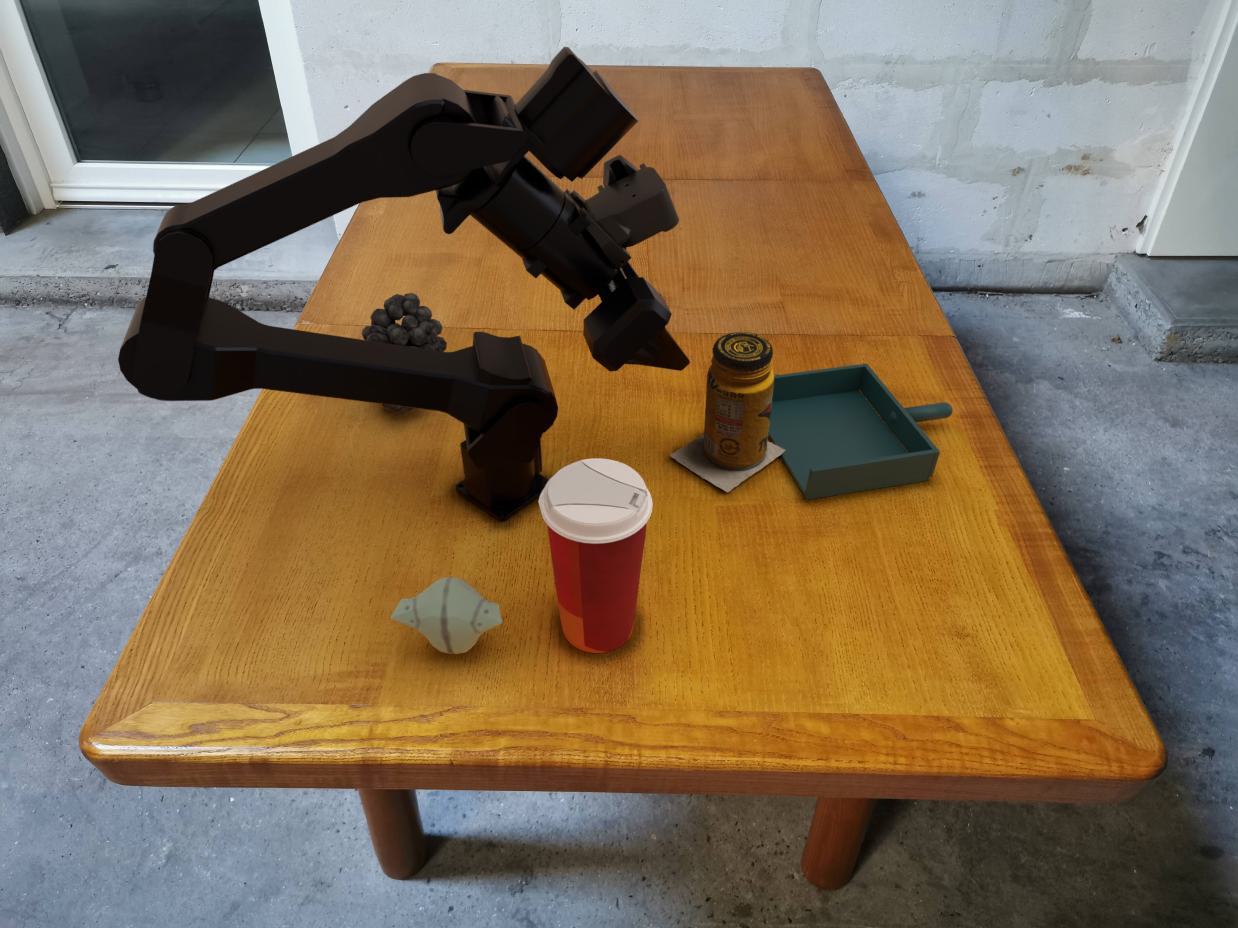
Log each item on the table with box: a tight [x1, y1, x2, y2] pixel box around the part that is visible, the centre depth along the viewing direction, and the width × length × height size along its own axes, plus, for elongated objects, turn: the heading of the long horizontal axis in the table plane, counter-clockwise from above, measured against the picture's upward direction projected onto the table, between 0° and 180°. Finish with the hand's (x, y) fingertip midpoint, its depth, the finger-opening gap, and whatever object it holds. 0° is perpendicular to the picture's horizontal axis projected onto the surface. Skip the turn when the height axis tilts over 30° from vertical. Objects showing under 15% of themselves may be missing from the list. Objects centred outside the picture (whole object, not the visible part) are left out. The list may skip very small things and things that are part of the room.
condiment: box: [669, 331, 785, 493], centre depth 80 cm, size 7×8×12 cm
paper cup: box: [538, 457, 654, 654], centre depth 64 cm, size 8×8×14 cm
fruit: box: [361, 292, 448, 414], centre depth 90 cm, size 9×8×15 cm
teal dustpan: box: [768, 362, 954, 501], centre depth 86 cm, size 18×15×3 cm
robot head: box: [390, 576, 503, 655], centre depth 64 cm, size 8×4×7 cm, turn 87°
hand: (669, 336), depth 74 cm, fingers open, 9 cm apart
